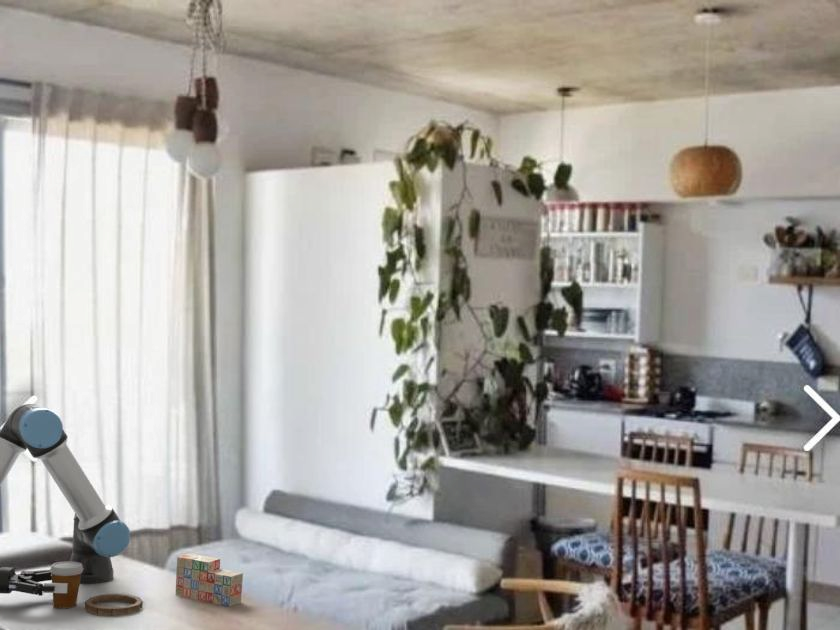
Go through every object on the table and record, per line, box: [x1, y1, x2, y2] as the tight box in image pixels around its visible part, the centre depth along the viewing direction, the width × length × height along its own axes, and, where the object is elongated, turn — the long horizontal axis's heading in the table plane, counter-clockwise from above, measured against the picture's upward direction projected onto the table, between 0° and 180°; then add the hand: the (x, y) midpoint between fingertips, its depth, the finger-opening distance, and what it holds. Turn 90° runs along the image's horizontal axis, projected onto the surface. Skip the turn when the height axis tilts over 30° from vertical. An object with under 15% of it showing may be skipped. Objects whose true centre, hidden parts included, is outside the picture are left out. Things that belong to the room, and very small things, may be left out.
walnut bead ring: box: [84, 593, 144, 617], centre depth 308 cm, size 16×16×2 cm
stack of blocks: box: [175, 553, 244, 607], centre depth 324 cm, size 21×6×12 cm, turn 62°
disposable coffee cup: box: [49, 561, 84, 609], centre depth 308 cm, size 10×10×12 cm
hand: (72, 582), depth 308 cm, fingers open, 13 cm apart
